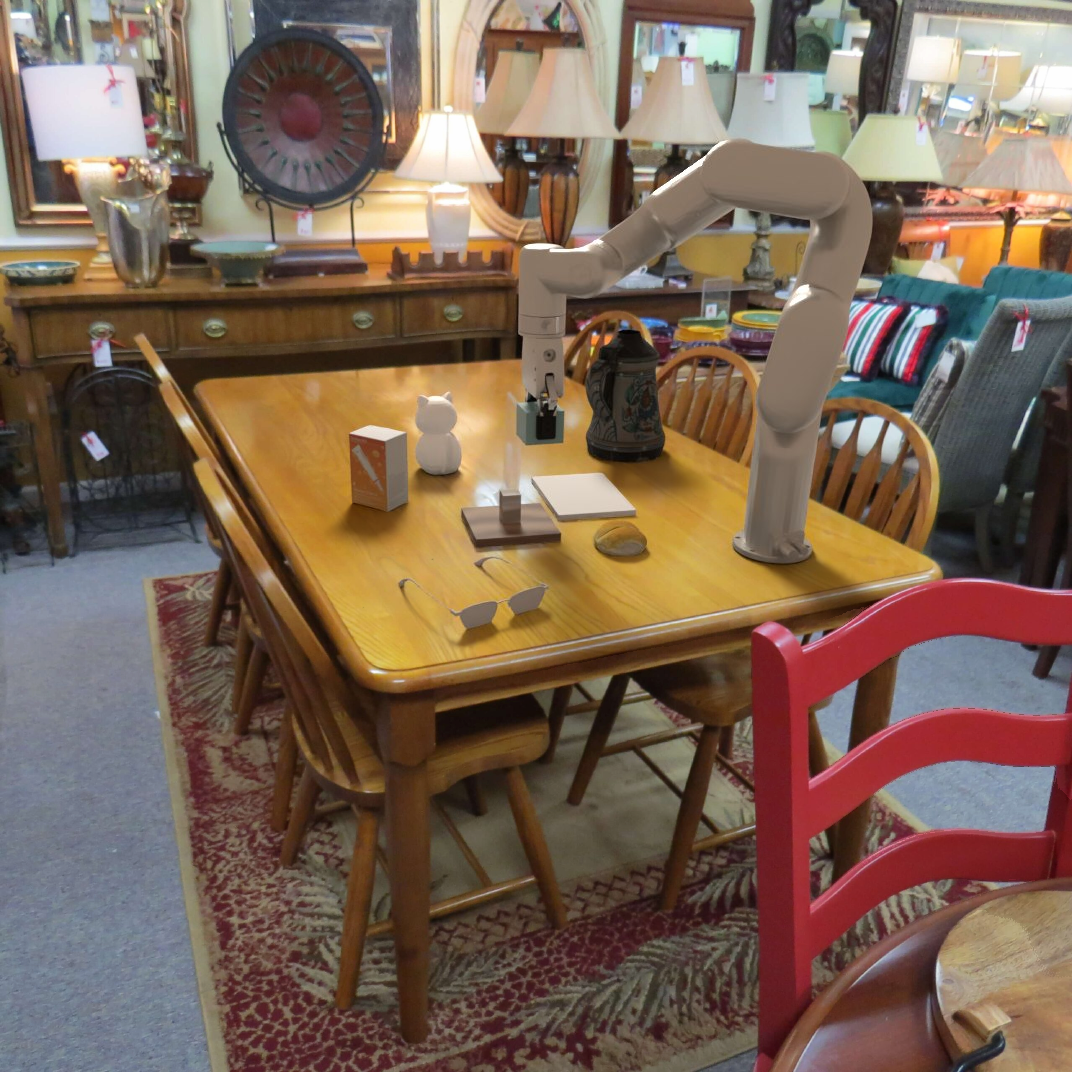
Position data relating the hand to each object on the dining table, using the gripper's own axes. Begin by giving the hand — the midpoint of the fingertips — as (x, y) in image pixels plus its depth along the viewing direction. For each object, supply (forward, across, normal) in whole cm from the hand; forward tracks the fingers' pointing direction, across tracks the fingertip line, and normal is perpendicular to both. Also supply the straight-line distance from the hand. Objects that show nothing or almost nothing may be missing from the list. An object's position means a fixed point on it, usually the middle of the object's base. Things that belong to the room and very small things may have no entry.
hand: (539, 431), depth 164 cm
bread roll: (+16, -15, -10) cm, 24 cm away
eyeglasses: (+16, -27, +18) cm, 36 cm away
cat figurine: (+15, +27, +12) cm, 34 cm away
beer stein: (+16, +31, -27) cm, 44 cm away
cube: (+1, 0, 0) cm, 1 cm away
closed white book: (+15, +8, -10) cm, 20 cm away
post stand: (+15, -4, +6) cm, 17 cm away
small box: (+15, +13, +26) cm, 32 cm away
